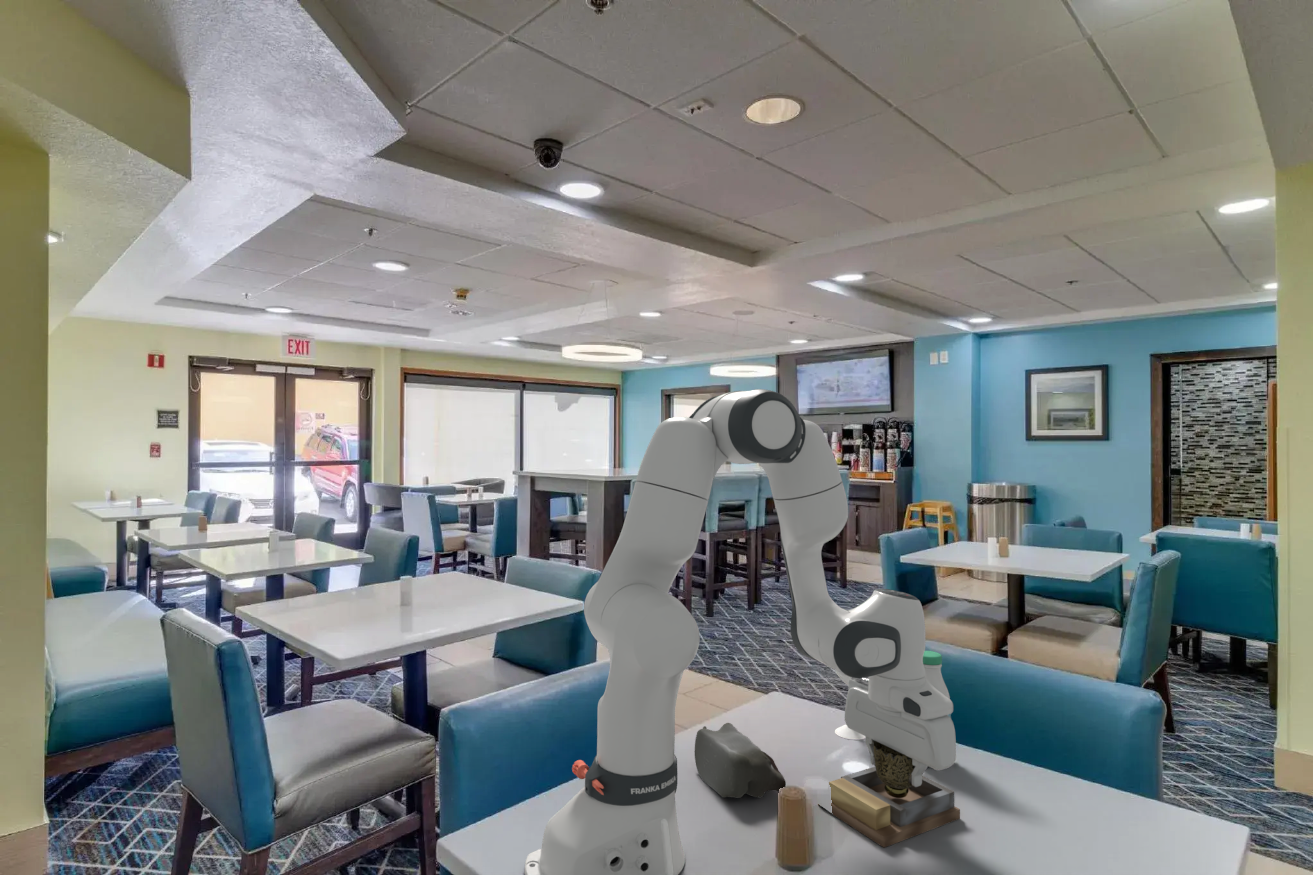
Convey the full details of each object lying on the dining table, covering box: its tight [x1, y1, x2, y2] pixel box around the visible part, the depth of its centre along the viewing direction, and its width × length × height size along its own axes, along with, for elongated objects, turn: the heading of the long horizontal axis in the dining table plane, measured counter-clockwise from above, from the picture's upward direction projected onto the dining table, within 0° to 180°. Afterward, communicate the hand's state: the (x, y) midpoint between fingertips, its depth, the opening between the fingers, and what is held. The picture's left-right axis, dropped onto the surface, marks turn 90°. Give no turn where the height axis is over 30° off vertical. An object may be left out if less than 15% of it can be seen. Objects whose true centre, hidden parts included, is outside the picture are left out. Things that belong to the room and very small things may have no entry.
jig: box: [828, 766, 961, 849], centre depth 113 cm, size 17×14×4 cm
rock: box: [694, 722, 787, 799], centre depth 123 cm, size 18×11×8 cm, turn 22°
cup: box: [873, 740, 915, 798], centre depth 114 cm, size 8×7×8 cm
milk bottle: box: [923, 650, 952, 719], centre depth 133 cm, size 8×8×20 cm
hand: (895, 774), depth 114 cm, fingers closed on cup, 6 cm apart
